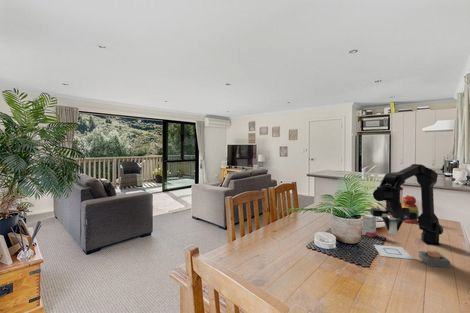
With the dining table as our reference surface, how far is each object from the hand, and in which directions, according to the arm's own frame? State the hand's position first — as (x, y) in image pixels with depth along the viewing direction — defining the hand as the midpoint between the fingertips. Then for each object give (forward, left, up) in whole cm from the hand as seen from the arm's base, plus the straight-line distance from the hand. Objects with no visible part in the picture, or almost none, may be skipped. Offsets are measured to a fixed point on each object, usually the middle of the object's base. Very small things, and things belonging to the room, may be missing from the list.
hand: (392, 230), depth 115 cm
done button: (-14, +7, -9) cm, 18 cm away
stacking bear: (-29, -57, -11) cm, 65 cm away
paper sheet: (0, 0, -11) cm, 11 cm away
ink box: (+6, -22, -11) cm, 25 cm away
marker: (0, 0, -2) cm, 2 cm away
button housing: (-14, +7, -11) cm, 19 cm away
